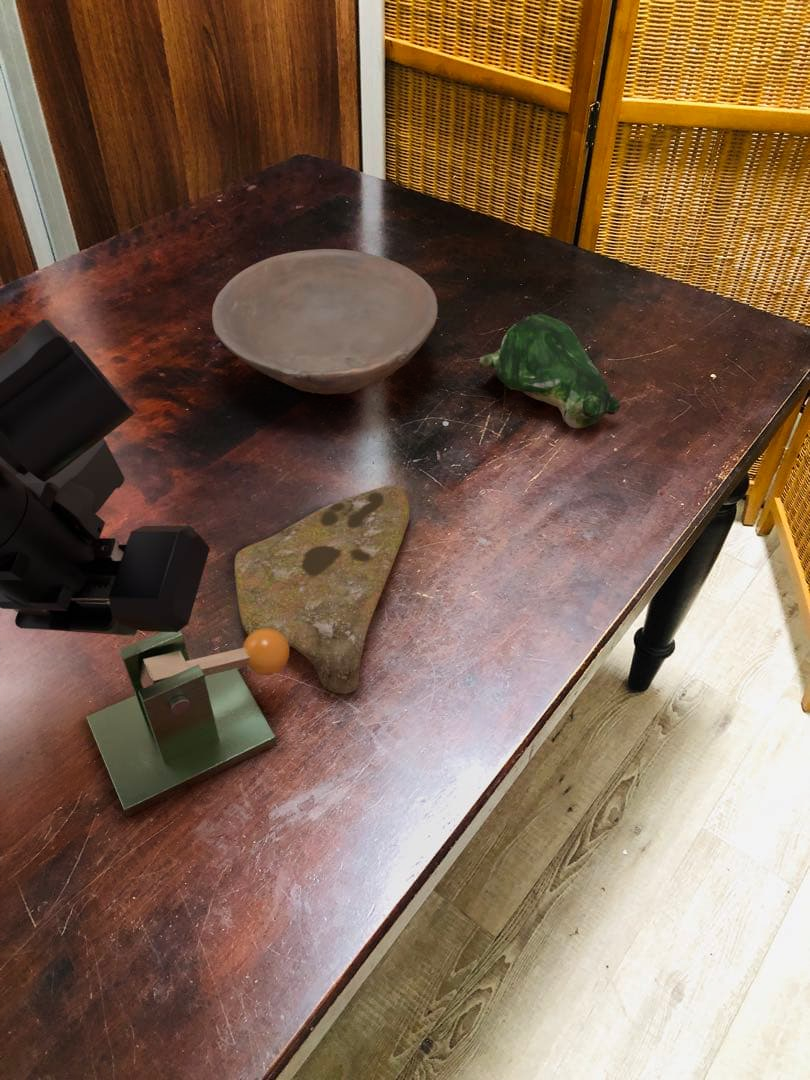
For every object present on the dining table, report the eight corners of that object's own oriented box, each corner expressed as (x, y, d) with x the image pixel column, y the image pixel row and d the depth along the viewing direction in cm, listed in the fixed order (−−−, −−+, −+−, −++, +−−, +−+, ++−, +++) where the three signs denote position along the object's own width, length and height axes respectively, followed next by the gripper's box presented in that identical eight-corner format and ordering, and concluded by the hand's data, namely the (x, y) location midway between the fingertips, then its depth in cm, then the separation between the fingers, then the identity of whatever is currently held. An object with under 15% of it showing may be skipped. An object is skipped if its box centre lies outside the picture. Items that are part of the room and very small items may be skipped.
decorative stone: (360, 702, 71) (352, 659, 68) (189, 678, 75) (174, 636, 72) (431, 518, 90) (427, 478, 86) (292, 507, 93) (283, 467, 90)
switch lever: (272, 646, 71) (280, 614, 69) (292, 678, 69) (301, 647, 67) (135, 679, 65) (140, 645, 62) (152, 716, 62) (157, 682, 60)
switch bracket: (230, 662, 74) (215, 586, 67) (276, 744, 69) (266, 672, 62) (89, 724, 69) (57, 650, 62) (127, 817, 64) (96, 749, 57)
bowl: (398, 296, 114) (399, 234, 107) (465, 413, 98) (471, 348, 91) (204, 324, 108) (194, 261, 102) (242, 454, 92) (233, 388, 86)
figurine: (459, 369, 98) (548, 447, 91) (492, 297, 94) (588, 374, 86) (536, 369, 107) (623, 441, 100) (570, 304, 103) (663, 374, 95)
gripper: (167, 392, 50) (277, 528, 63) (-88, 408, 56) (61, 529, 69) (106, 568, 45) (240, 676, 58) (-167, 565, 50) (10, 664, 63)
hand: (132, 628), depth 62 cm, fingers closed
